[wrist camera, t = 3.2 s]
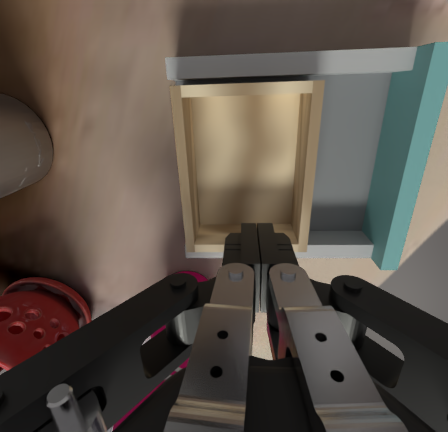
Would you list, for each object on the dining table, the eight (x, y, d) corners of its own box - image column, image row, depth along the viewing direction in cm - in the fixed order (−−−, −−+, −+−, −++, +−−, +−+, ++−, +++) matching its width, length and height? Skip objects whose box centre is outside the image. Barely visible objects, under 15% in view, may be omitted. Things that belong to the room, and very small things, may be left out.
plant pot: (12, 250, 34) (-94, 326, 23) (113, 293, 36) (58, 381, 25) (-4, 319, 39) (-98, 408, 28) (85, 353, 41) (30, 448, 30)
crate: (194, 227, 30) (186, 252, 26) (182, 86, 25) (169, 85, 20) (296, 227, 30) (306, 252, 25) (308, 82, 24) (324, 80, 19)
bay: (192, 239, 32) (182, 269, 27) (175, 62, 25) (158, 54, 19) (369, 238, 31) (397, 270, 26) (408, 52, 24) (459, 41, 18)
